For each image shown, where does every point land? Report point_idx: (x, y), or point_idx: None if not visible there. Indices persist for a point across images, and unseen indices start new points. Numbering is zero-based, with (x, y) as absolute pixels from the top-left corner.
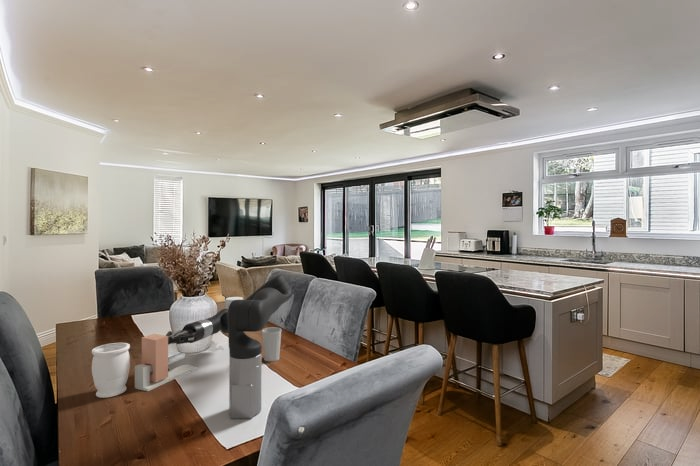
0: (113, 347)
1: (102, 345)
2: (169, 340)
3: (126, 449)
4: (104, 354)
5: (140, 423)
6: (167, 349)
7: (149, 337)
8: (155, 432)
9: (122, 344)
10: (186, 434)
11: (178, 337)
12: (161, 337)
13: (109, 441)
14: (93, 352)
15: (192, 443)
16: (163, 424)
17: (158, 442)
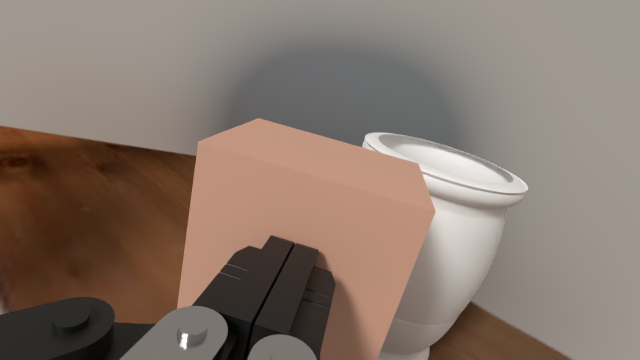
0: (502, 210)
1: (510, 174)
2: (213, 284)
3: (148, 158)
4: (393, 139)
5: (154, 198)
6: (185, 271)
7: (361, 154)
8: (103, 175)
9: (475, 195)
10: (19, 161)
11: (57, 302)
12: (249, 134)
13: (193, 174)
14: (444, 147)
15: (6, 145)
16: (88, 188)
17: (88, 158)
